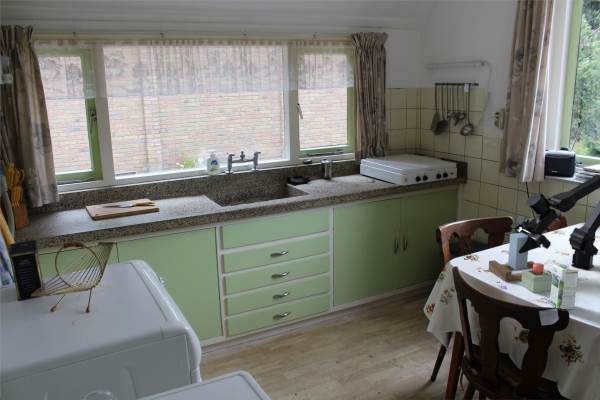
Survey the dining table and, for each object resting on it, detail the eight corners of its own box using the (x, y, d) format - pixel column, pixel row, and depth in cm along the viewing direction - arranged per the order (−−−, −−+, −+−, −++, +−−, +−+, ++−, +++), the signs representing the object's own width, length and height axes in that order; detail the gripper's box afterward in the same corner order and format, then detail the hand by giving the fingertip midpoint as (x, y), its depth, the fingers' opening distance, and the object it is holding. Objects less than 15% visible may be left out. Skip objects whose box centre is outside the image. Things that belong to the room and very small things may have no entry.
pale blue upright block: (519, 263, 206) (521, 232, 203) (526, 268, 202) (529, 236, 198) (508, 264, 206) (510, 233, 202) (515, 269, 201) (517, 237, 198)
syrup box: (548, 303, 178) (552, 264, 175) (565, 302, 179) (569, 263, 175) (558, 311, 173) (562, 270, 169) (574, 309, 173) (579, 269, 170)
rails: (531, 265, 212) (532, 261, 211) (550, 276, 200) (551, 271, 200) (494, 269, 209) (494, 265, 209) (511, 281, 198) (511, 276, 197)
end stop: (494, 269, 209) (494, 260, 208) (511, 281, 198) (511, 271, 197) (488, 270, 209) (489, 260, 208) (505, 281, 197) (505, 272, 196)
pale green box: (540, 283, 195) (541, 268, 193) (552, 290, 188) (553, 275, 187) (521, 285, 194) (522, 270, 192) (532, 292, 187) (533, 277, 185)
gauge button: (539, 270, 191) (539, 262, 191) (545, 273, 188) (546, 266, 187) (530, 271, 191) (531, 263, 190) (536, 274, 187) (537, 267, 187)
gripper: (516, 202, 207) (490, 231, 208) (546, 215, 190) (516, 245, 190) (533, 220, 211) (506, 247, 212) (563, 233, 193) (534, 263, 194)
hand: (515, 250), depth 202 cm, fingers closed on pale blue upright block, 5 cm apart
